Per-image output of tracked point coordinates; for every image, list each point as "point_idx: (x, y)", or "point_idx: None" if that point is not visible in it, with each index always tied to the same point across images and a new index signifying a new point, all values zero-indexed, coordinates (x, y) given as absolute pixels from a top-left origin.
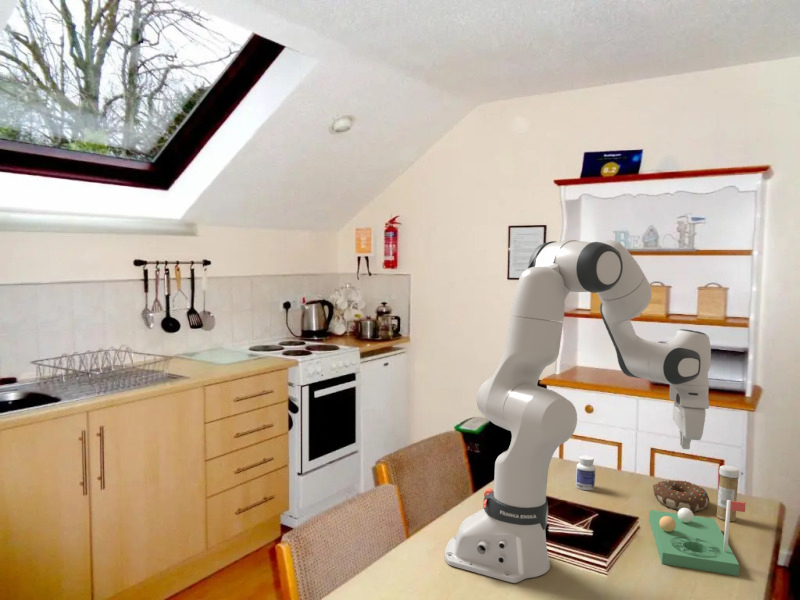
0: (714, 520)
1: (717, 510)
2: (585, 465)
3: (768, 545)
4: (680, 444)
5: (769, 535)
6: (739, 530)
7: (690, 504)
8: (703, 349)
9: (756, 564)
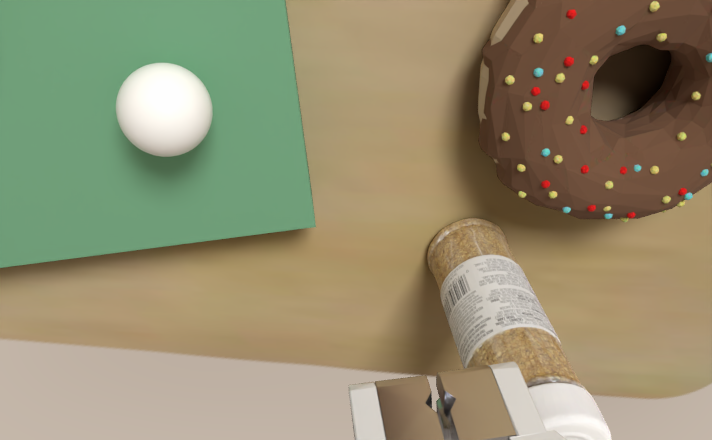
0: (290, 227)
1: (476, 236)
2: None
3: (241, 358)
4: (477, 374)
5: (346, 365)
6: (345, 285)
7: (482, 128)
8: None
9: (11, 319)
